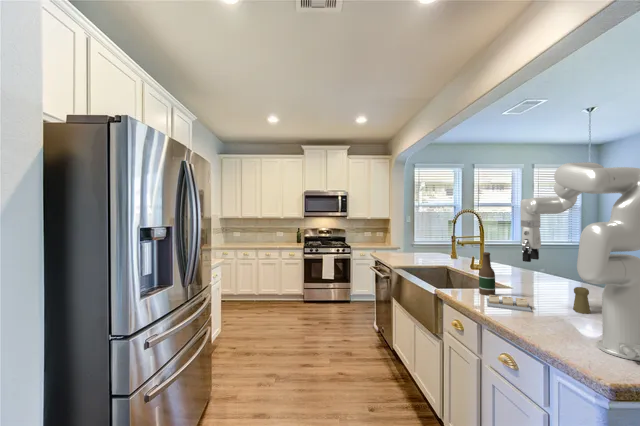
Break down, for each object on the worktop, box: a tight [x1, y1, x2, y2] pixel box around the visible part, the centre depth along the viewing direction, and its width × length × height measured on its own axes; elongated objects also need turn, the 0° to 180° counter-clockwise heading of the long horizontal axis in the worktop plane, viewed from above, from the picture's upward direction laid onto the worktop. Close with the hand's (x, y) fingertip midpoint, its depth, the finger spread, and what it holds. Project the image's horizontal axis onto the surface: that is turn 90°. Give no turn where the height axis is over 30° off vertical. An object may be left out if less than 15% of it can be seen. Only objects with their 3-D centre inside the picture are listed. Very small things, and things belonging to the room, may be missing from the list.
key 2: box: [501, 295, 514, 306], centre depth 136 cm, size 4×4×4 cm
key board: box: [486, 297, 533, 313], centre depth 136 cm, size 13×17×2 cm
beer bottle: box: [478, 251, 496, 297], centre depth 156 cm, size 8×8×24 cm
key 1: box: [515, 297, 528, 307], centre depth 134 cm, size 4×4×4 cm
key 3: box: [488, 294, 500, 304], centre depth 139 cm, size 4×4×4 cm
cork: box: [572, 286, 592, 315], centre depth 130 cm, size 6×6×11 cm
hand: (530, 260), depth 135 cm, fingers open, 9 cm apart
